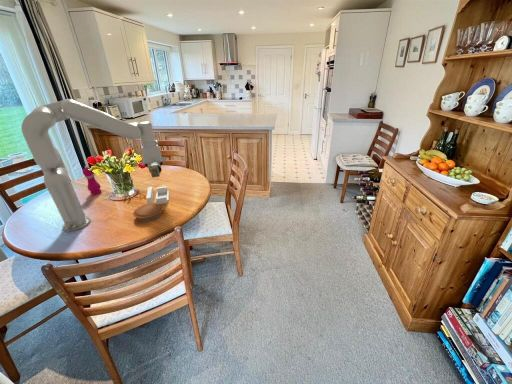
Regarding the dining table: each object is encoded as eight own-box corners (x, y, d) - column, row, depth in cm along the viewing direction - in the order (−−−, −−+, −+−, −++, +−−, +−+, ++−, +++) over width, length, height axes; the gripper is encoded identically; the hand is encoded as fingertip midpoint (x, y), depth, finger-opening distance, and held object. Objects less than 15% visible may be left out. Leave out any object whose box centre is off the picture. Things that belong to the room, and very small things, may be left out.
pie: (169, 213, 136) (167, 205, 134) (145, 226, 125) (143, 218, 123) (153, 206, 144) (151, 198, 142) (129, 218, 132) (126, 210, 130)
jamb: (168, 202, 147) (167, 195, 144) (148, 206, 144) (146, 198, 141) (168, 191, 161) (167, 184, 159) (150, 193, 158) (148, 187, 156)
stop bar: (152, 170, 149) (150, 162, 146) (160, 169, 150) (158, 161, 148) (151, 177, 140) (149, 168, 137) (159, 176, 141) (157, 167, 138)
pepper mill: (104, 190, 164) (95, 163, 154) (97, 195, 157) (87, 167, 148) (95, 190, 164) (85, 163, 155) (87, 195, 158) (76, 167, 149)
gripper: (164, 140, 142) (170, 168, 150) (134, 143, 137) (142, 172, 146) (164, 143, 135) (170, 173, 144) (132, 147, 131) (140, 177, 139)
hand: (156, 172), depth 145 cm, fingers closed on stop bar, 4 cm apart
